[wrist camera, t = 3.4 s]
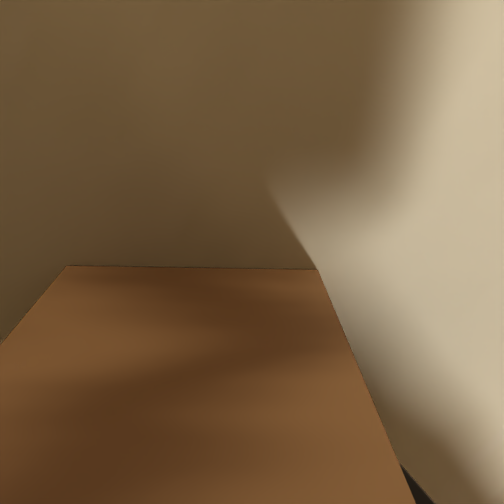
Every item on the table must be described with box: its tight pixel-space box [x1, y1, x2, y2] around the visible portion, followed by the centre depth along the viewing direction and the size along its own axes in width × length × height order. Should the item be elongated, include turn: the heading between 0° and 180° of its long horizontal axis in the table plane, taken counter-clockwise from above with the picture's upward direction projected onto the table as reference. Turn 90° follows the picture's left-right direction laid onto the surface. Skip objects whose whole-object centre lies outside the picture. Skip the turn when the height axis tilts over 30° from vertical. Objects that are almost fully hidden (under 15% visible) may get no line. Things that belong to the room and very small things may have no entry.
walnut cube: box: [0, 266, 416, 504], centre depth 8 cm, size 6×6×6 cm
